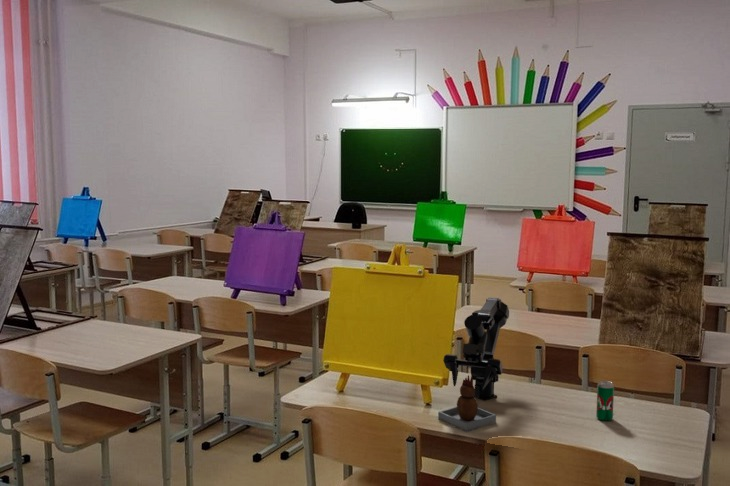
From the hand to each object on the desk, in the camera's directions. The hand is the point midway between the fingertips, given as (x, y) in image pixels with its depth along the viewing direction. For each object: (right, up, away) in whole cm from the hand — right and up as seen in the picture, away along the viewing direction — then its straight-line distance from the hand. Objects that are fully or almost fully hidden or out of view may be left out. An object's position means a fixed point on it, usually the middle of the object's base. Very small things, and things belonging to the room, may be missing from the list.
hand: (468, 387), depth 217 cm
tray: (0, -11, 0) cm, 11 cm away
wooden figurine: (0, -10, 0) cm, 10 cm away
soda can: (+44, -11, +1) cm, 46 cm away
